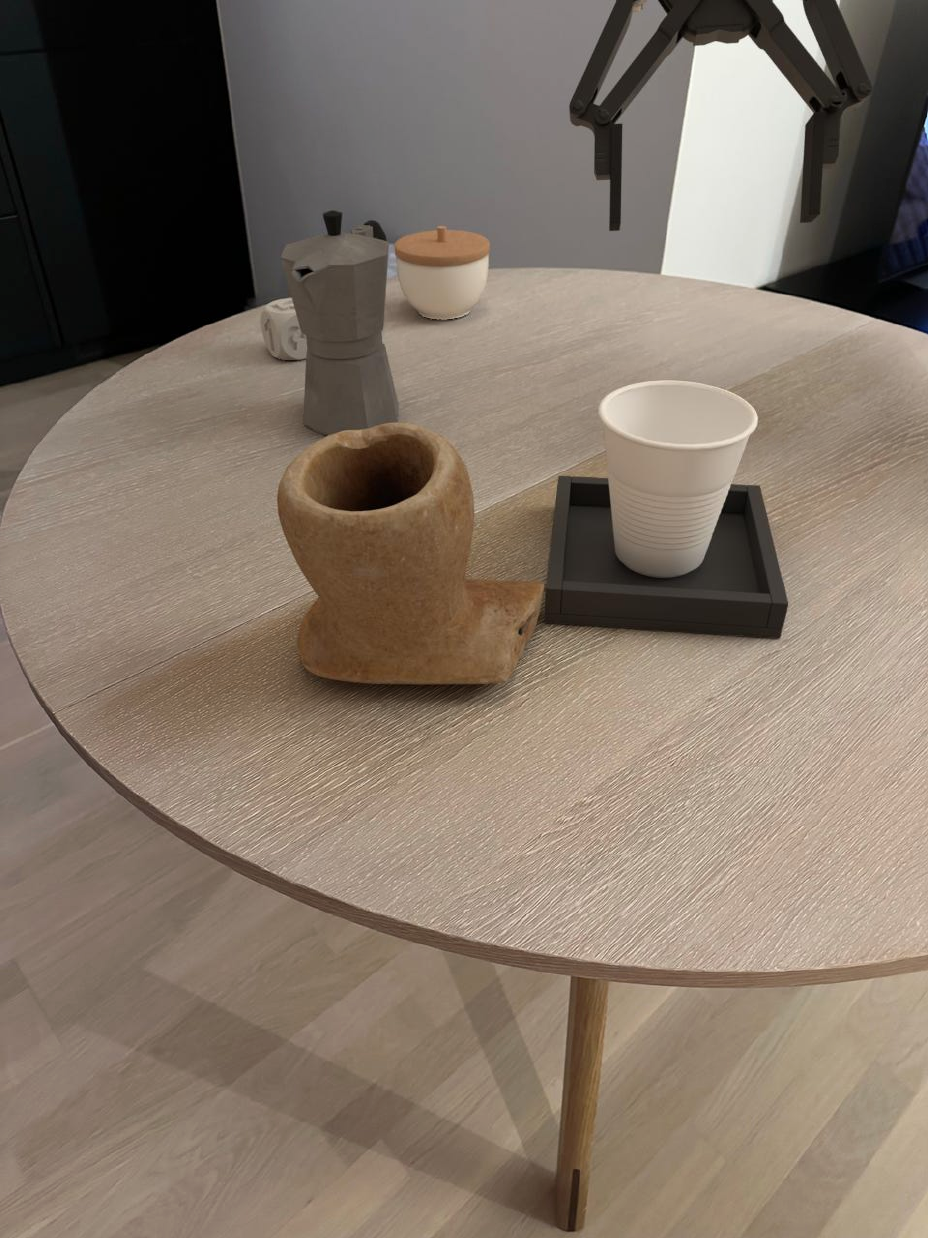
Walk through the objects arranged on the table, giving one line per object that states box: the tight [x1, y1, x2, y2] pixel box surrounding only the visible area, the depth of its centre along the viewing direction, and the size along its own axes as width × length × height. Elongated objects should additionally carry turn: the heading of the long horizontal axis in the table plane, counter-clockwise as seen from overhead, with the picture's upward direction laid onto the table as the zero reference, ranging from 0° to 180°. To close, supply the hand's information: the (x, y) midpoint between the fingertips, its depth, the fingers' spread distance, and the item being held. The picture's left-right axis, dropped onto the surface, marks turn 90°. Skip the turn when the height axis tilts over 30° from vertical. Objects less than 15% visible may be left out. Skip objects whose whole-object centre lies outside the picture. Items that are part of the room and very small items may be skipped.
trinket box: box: [393, 225, 491, 321], centre depth 106 cm, size 11×11×9 cm
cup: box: [597, 379, 759, 578], centre depth 62 cm, size 10×10×11 cm
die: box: [260, 297, 307, 361], centre depth 98 cm, size 5×5×5 cm
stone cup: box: [276, 422, 546, 685], centre depth 53 cm, size 15×12×15 cm
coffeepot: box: [280, 209, 400, 436], centre depth 82 cm, size 15×9×18 cm, turn 159°
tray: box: [543, 475, 789, 640], centre depth 65 cm, size 15×15×3 cm
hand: (711, 223), depth 66 cm, fingers open, 13 cm apart
